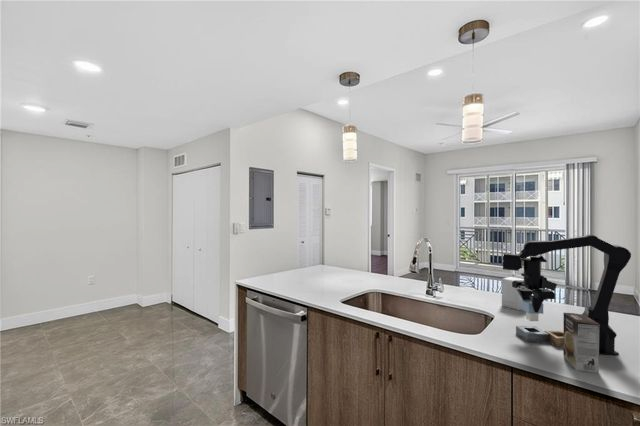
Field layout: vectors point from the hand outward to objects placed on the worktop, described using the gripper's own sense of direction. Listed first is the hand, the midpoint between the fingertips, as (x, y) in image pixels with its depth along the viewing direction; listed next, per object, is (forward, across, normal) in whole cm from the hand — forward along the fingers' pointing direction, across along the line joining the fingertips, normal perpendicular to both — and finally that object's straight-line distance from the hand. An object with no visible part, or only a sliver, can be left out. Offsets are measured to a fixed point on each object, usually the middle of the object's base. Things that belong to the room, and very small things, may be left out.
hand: (532, 310), depth 123 cm
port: (+11, 0, 0) cm, 11 cm away
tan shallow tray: (+11, -4, -8) cm, 14 cm away
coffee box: (+12, -21, -3) cm, 24 cm away
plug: (+4, 0, 0) cm, 4 cm away
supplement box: (+12, +40, -15) cm, 44 cm away
